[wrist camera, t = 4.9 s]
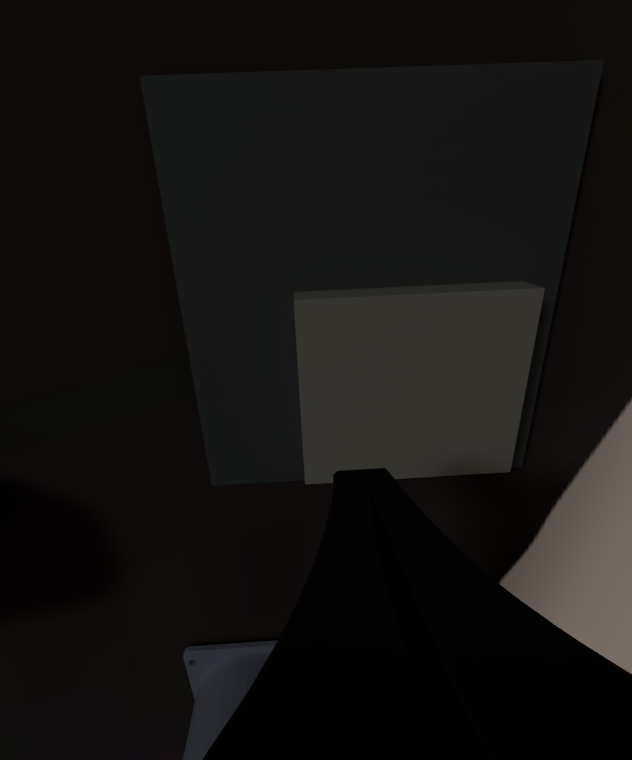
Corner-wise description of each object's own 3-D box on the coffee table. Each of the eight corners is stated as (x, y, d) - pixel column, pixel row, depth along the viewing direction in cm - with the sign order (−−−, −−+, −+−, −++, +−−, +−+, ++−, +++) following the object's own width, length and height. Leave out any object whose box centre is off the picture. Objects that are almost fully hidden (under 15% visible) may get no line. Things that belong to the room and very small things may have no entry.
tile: (304, 462, 19) (493, 451, 19) (305, 484, 17) (510, 472, 17) (293, 291, 16) (521, 280, 16) (293, 300, 14) (544, 287, 14)
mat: (516, 459, 20) (522, 467, 19) (214, 477, 20) (211, 485, 19) (591, 65, 14) (604, 59, 13) (146, 81, 13) (139, 75, 13)
